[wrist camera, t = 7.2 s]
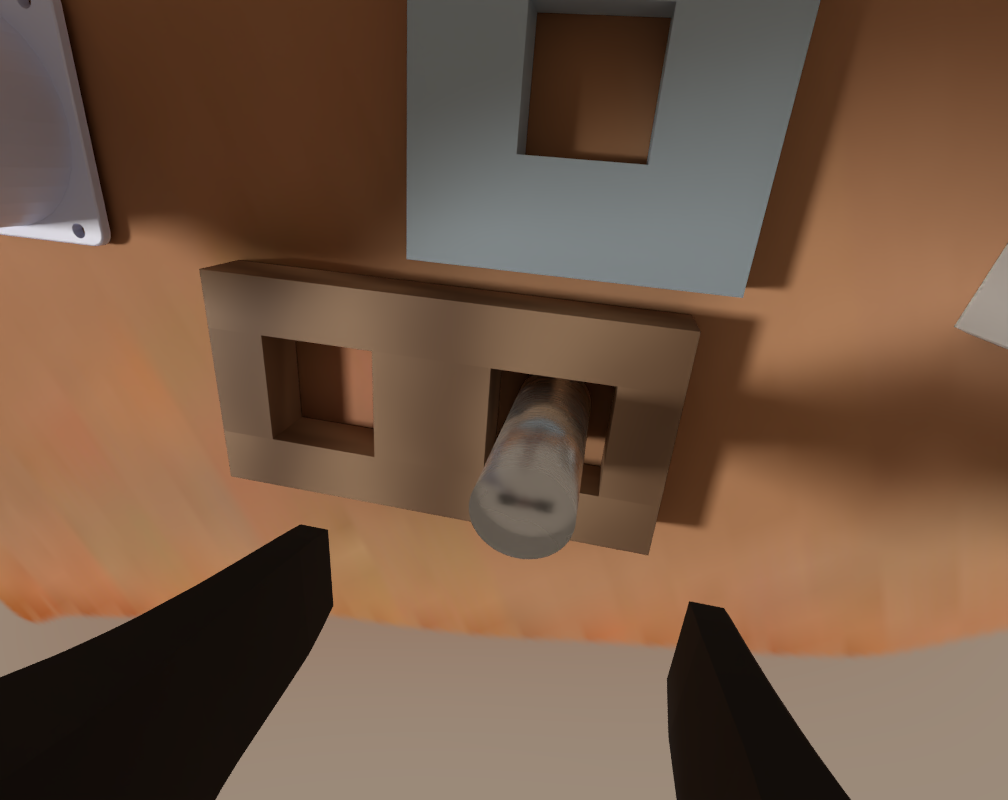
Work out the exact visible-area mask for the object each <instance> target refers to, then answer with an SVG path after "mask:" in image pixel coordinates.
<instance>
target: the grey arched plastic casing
mask: <svg viewBox="0 0 1008 800" xmlns="http://www.w3.org/2000/svg"><path fill="white" fill-rule="evenodd" d="M954 327H956V328H958V329H960V330H962V331H964V332H966V333H968V334H970V335H973V336H975V337H978V338H980V339H983V340H985V341H988V342H990V343H993V344H995V345H998V346H1000V347H1003V348H1005V349H1008V244H1007V245H1006V247H1005V248H1004V250H1003V252H1002V253H1001V255H1000V256H999V258H998V259H997V261H996V262H995V264H994V265H993V267H992V269H991V270H990V272H989V273H988V275H987V276H986V278H985V279H984V281H983V282H982V284H981V286H980V287H979V289H978V290H977V292H976V293H975V295H974V296H973V298H972V299H971V301H970V303H969V304H968V306H967V307H966V309H965V310H964V312H963V313H962V315H961V316H960V318H959V320H958V321H957V323H956V324H955V326H954Z"/></svg>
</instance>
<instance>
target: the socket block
mask: <svg viewBox="0 0 1008 800" xmlns="http://www.w3.org/2000/svg"><path fill="white" fill-rule="evenodd" d="M819 4H820V0H407V259H410V260H418V261H427V262H436V263H444V264H453V265H462V266H471V267H479V268H488V269H497V270H505V271H514V272H523V273H532V274H540V275H549V276H558V277H566V278H575V279H584V280H593V281H601V282H610V283H619V284H627V285H636V286H645V287H654V288H662V289H671V290H680V291H688V292H697V293H706V294H715V295H723V296H732V297H741V298H743V295H744V292H745V288H746V284H747V280H748V276H749V272H750V269H751V265H752V261H753V257H754V253H755V249H756V246H757V242H758V238H759V234H760V230H761V226H762V223H763V219H764V215H765V211H766V207H767V203H768V200H769V196H770V192H771V188H772V184H773V180H774V177H775V173H776V169H777V165H778V161H779V157H780V154H781V150H782V146H783V142H784V138H785V134H786V131H787V127H788V123H789V119H790V115H791V111H792V108H793V104H794V100H795V96H796V92H797V88H798V84H799V81H800V77H801V73H802V69H803V65H804V61H805V58H806V54H807V50H808V46H809V42H810V38H811V35H812V31H813V27H814V23H815V19H816V15H817V12H818V8H819ZM537 12H539V13H564V14H589V15H615V16H640V17H665V18H671V22H670V28H669V34H668V40H667V46H666V52H665V57H664V63H663V69H662V75H661V81H660V87H659V93H658V99H657V105H656V111H655V116H654V122H653V128H652V134H651V140H650V146H649V152H648V158H647V164H646V165H644V164H631V163H619V162H607V161H594V160H582V159H569V158H557V157H545V156H532V155H525V152H526V140H527V128H528V116H529V104H530V93H531V81H532V69H533V57H534V45H535V33H536V21H537Z"/></svg>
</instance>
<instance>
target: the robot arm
mask: <svg viewBox="0 0 1008 800" xmlns="http://www.w3.org/2000/svg"><path fill="white" fill-rule="evenodd" d="M82 227H83V228H84V231H85V233H84V232H83V230H82ZM0 235H8V236H16V237H24V238H33V239H41V240H49V241H57V242H65V243H73V244H82V245H90V246H100V245H106V244H107V243H109V241H110V239H111V232H110V228H109V223H108V218H107V214H106V209H105V204H104V200H103V195H102V190H101V186H100V181H99V176H98V172H97V167H96V162H95V158H94V153H93V148H92V144H91V139H90V134H89V130H88V125H87V120H86V116H85V111H84V106H83V102H82V97H81V92H80V88H79V83H78V78H77V74H76V69H75V64H74V60H73V55H72V50H71V46H70V41H69V36H68V32H67V27H66V22H65V18H64V13H63V8H62V4H61V1H60V0H31V5H30V3H29V0H0ZM332 607H333V595H332V581H331V567H330V553H329V539H328V530H326V529H321V528H316V527H311V526H306V525H299V526H297V527H295V528H293V529H291V530H290V531H288V532H286V533H284V534H283V535H281V536H279V537H278V538H276V539H274V540H273V541H271V542H269V543H267V544H266V545H264V546H262V547H261V548H259V549H257V550H256V551H254V552H252V553H251V554H249V555H247V556H246V557H244V558H242V559H241V560H239V561H237V562H236V563H234V564H232V565H230V566H229V567H227V568H225V569H224V570H222V571H220V572H218V573H217V574H215V575H213V576H212V577H210V578H208V579H206V580H205V581H203V582H201V583H200V584H198V585H196V586H194V587H192V588H190V589H189V590H187V591H185V592H183V593H181V594H179V595H177V596H176V597H174V598H172V599H170V600H168V601H166V602H164V603H163V604H161V605H159V606H157V607H155V608H153V609H151V610H150V611H148V612H146V613H144V614H142V615H140V616H138V617H136V618H134V619H132V620H130V621H128V622H126V623H124V624H122V625H120V626H118V627H116V628H114V629H112V630H110V631H108V632H106V633H104V634H101V635H99V636H97V637H95V638H93V639H90V640H88V641H86V642H84V643H82V644H80V645H77V646H75V647H73V648H71V649H68V650H66V651H64V652H62V653H59V654H57V655H55V656H52V657H50V658H48V659H45V660H42V661H40V662H37V663H35V664H32V665H30V666H28V667H26V668H22V669H20V670H17V671H15V672H13V673H10V674H8V675H5V676H2V677H0V800H215V799H216V798H217V796H218V794H219V792H220V790H221V789H222V787H223V785H224V784H225V782H226V780H227V779H228V777H229V775H230V774H231V772H232V770H233V769H234V767H235V766H236V764H237V762H238V761H239V759H240V758H241V756H242V755H243V753H244V752H245V750H246V749H247V747H248V746H249V744H250V743H251V741H252V740H253V738H254V737H255V735H256V734H257V732H258V731H259V729H260V728H261V726H262V725H263V723H264V722H265V720H266V719H267V717H268V716H269V714H270V713H271V711H272V710H273V708H274V707H275V705H276V704H277V702H278V701H279V699H280V698H281V696H282V695H283V693H284V692H285V690H286V689H287V687H288V685H289V684H290V682H291V681H292V679H293V678H294V676H295V675H296V673H297V671H298V670H299V669H300V667H301V666H302V664H303V662H304V661H305V659H306V658H307V656H308V655H309V653H310V651H311V649H312V647H313V645H314V643H315V641H316V640H317V638H318V636H319V634H320V632H321V630H322V628H323V626H324V624H325V622H326V619H327V617H328V615H329V613H330V611H331V609H332ZM667 697H668V698H667V699H668V733H669V744H670V752H671V759H672V767H673V775H674V782H675V790H676V798H677V800H851V799H850V798H849V797H848V795H847V794H846V793H845V791H844V790H843V789H842V787H841V786H840V785H839V783H838V782H837V780H836V779H835V778H834V776H833V775H832V774H831V772H830V771H829V770H828V768H827V767H826V765H825V764H824V763H823V761H822V760H821V758H820V757H819V756H818V754H817V753H816V752H815V750H814V748H813V747H812V746H811V744H810V743H809V741H808V740H807V738H806V737H805V735H804V734H803V733H802V731H801V730H800V728H799V727H798V725H797V724H796V722H795V721H794V719H793V718H792V716H791V714H790V713H789V711H788V710H787V708H786V707H785V705H784V704H783V702H782V701H781V700H780V698H779V697H778V695H777V693H776V692H775V690H774V689H773V687H772V686H771V684H770V682H769V681H768V679H767V678H766V676H765V674H764V673H763V671H762V670H761V668H760V666H759V665H758V663H757V662H756V660H755V658H754V657H753V655H752V653H751V652H750V650H749V648H748V647H747V645H746V643H745V642H744V640H743V638H742V637H741V635H740V633H739V632H738V630H737V628H736V627H735V625H734V623H733V622H732V620H731V618H730V616H729V615H728V613H727V612H726V611H725V609H724V608H720V607H715V606H710V605H705V604H700V603H695V602H690V601H689V604H688V608H687V611H686V615H685V618H684V622H683V625H682V629H681V632H680V636H679V639H678V643H677V646H676V650H675V653H674V657H673V660H672V664H671V667H670V671H669V675H668V678H667Z"/></svg>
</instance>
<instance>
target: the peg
mask: <svg viewBox="0 0 1008 800" xmlns="http://www.w3.org/2000/svg"><path fill="white" fill-rule="evenodd" d="M590 409H591V398H590V393H589V391H588V388H587V387H586V385H585V384H584V382H583V381H576V380H569V379H562V378H555V377H548V376H541V375H534V374H532V375H530V376H529V377H528V378H527V379H526V380H525V382H524V383H523V385H522V387H521V389H520V391H519V393H518V395H517V397H516V399H515V402H514V404H513V406H512V408H511V410H510V412H509V414H508V416H507V419H506V421H505V423H504V425H503V427H502V429H501V431H500V434H499V436H498V438H497V440H496V442H495V444H494V446H493V449H492V451H491V453H490V455H489V457H488V459H487V461H486V463H485V466H484V468H483V470H482V472H481V474H480V476H479V478H478V481H477V483H476V485H475V487H474V489H473V491H472V493H471V496H470V500H469V515H470V519H471V522H472V525H473V527H474V529H475V530H476V532H477V533H478V535H479V536H480V537H481V538H482V539H483V540H484V541H485V542H486V543H487V544H488V545H489V546H491V547H492V548H493V549H495V550H497V551H498V552H501V553H503V554H505V555H508V556H511V557H515V558H520V559H538V558H543V557H546V556H549V555H552V554H554V553H556V552H557V551H559V550H560V549H561V548H563V547H564V546H565V545H566V544H567V542H568V541H569V540H570V538H571V537H572V534H573V532H574V529H575V525H576V517H577V509H578V502H579V494H580V486H581V478H582V471H583V463H584V455H585V447H586V440H587V432H588V424H589V416H590Z"/></svg>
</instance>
